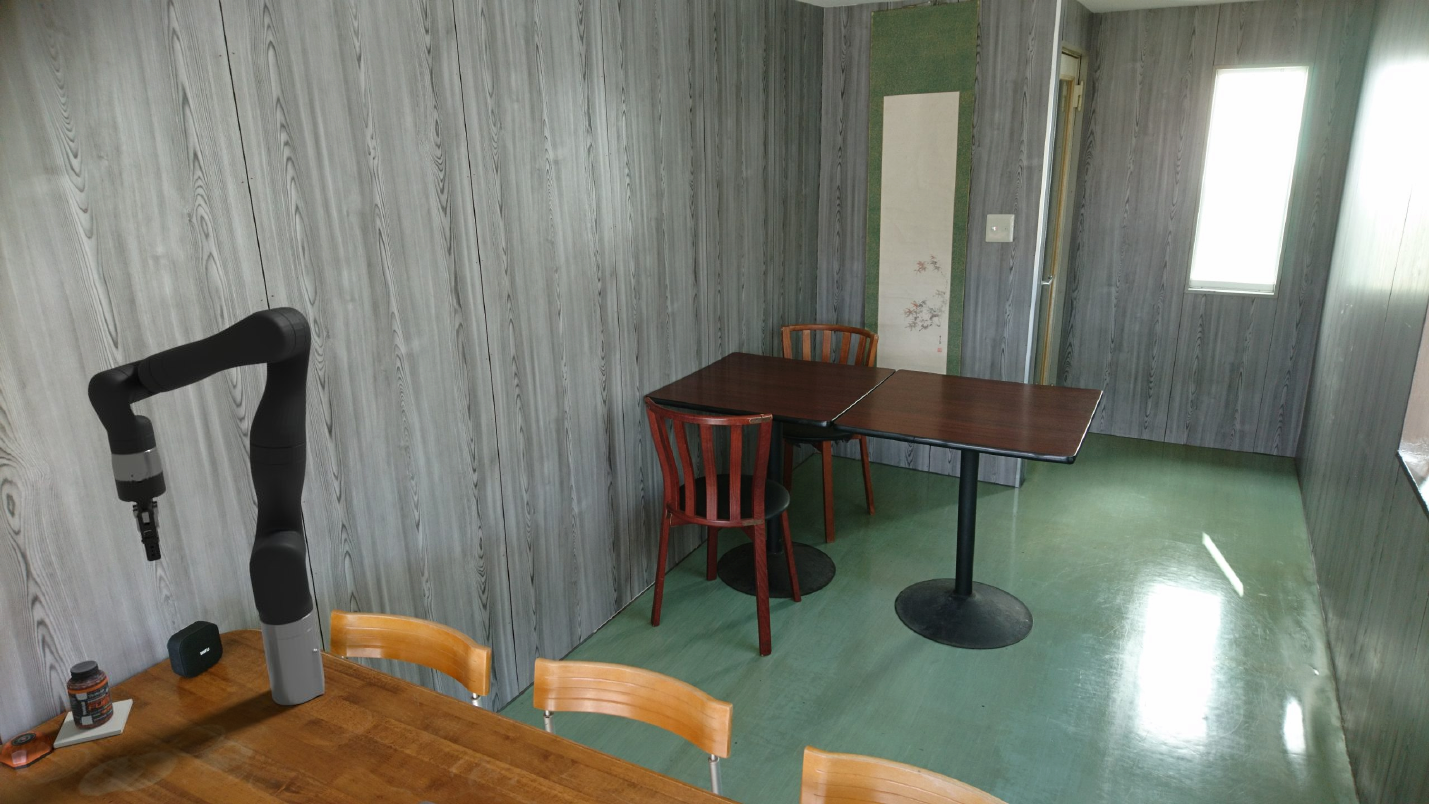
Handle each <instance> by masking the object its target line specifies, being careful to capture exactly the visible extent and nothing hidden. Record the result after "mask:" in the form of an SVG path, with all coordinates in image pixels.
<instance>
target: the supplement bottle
mask: <svg viewBox="0 0 1429 804" xmlns="http://www.w3.org/2000/svg"><path fill="white" fill-rule="evenodd" d="M69 672H70V678H69V679H68V680H67V682H66V690H67V696H68V699H69V705H70V710H71V711H72V715H73V719H74V723H75V726H76V727H78V728H82V729H85V728H86V729H87V728H93V727H96V726H99V725H101V724H103V723H105V722H107V721H108V720H109V719H110V718H111V717H112V716H113V714H114V711H113V704H112V703H114V702H113V701H112V696H111V690H110V686H109V681H108V677H107V673H106V672H105V671H104V670H103V669H100V668H99V664H98V662H97V661H96V660H92V659H91V660H90V659H89V660H84V661H79V662H78V663H75V664H74V665H73V666H71V668H70V671H69Z"/></svg>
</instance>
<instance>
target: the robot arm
mask: <svg viewBox="0 0 1429 804" xmlns="http://www.w3.org/2000/svg"><path fill="white" fill-rule="evenodd" d="M311 346H312V331H311V327H310V324H309V322H308V320H307V318H306V317H305V315H304V314H303V312H301V311H299V310H298V309H296V308H294V307H291V306H279V307H274V308H269V309H268V308H266V309H264V310H263V309H262V310H258V311H255V312H253V313H251V314H249V315H247V316H246V317H244V318H242V319H240V320H239V321H237V322H235V323H233V324H232V325H230V326H228V327H227V328H225V329H223V330H221V331H219V332H217V333H215V334H212V335H210V336H207V337H205V338H202V339H200V340H199V339H198V340H196V341H191V342H188V343H185V344H180V345H178V346H174V347H171V348H167V349H165V350H163V351H158V352H157V353H154V354H151V355H148V356H146V357H145V358H142V359H140V360H135V361H132V362H129V363H125V364H121V365H119V366H115V367H112V368H108V369H106V370H102V371H100V372H97V373H95V374H94V375H92V377H91V378H90V380H89V382H88V386H87V395H88V399H89V402H90V405H91V406H92V408H93V409H94V411H95V413H96V416H97V418H98V419H99V420H100V423H101V425H102V426H103V427H104V429H105V431H106V434H107V441H108V444H109V450H110V455H111V460H110V461H111V469H112V474H113V477H114V483H115V487H116V492H117V497H118V499H119V500H120V501H122V502H125V503H135V504H132V515H133V518H134V519H135V523H136V524H135V525H136V528H137V532H138V533H140V539H141V540H140V541H141V542H140V543H142V545H144V551H145V555H146V560H147V561H148V562H155V561H159V560H161V559H162V552H161V547H160V541H161V540H160V536H159V529H160V522H159V516H160V515H159V513H160V512H159V505H158V504H159V503H158V500H154V499H155V498H158V497H161V496H163V495H164V494H165V493H166V491H167V487H166V481H165V475H164V470H163V465H162V459H161V456H160V453H159V450H158V447H157V441H156V437H155V430H154V426H153V423H152V420H151V419H150V418H149V417H147V416H146V415H142V414H135V413H134V411H133V409H132V407H131V405H132V404H135V403H137V402H140V401H143V400H146V399H148V398H151V397H153V396H157V395H159V394H161V393H168V392H173V391H175V390H177V389H180V388H184V387H187V386H189V385H193V384H195V383H198V382H200V381H203V380H205V379H208V378H210V377H212V376H214V375H216V374H217V373H220V372H223V371H227V370H231V369H234V368H237V367H238V368H239V367H244V366H245V367H247V366H253V365H254V366H255V365H261V364H266V380H265V386H264V390H263V393H262V395H261V399H260V401H259V404H258V406H257V408H256V410H255V414H254V417H253V419H252V422H251V426H250V430H249V465H250V467H249V468H250V473H251V480H252V485H253V488H254V492H255V496H256V502H257V515H256V517H257V518H256V526H255V527H256V528H255V536H254V540H253V544H252V549H251V553H250V554H251V555H250V558H249V563H248V565H249V566H248V568H249V578H250V583H251V590H252V594H253V599H254V605H255V606H254V607H255V609H256V610H257V613H258V618H259V622H260V623H259V624H260V630H261V636H262V642H263V649H264V655H265V662H266V667H267V672H268V680H269V684H270V685H269V686H270V692H271V698H272V700H273V702H274V703H276V704H278V705H280V706H293V705H298V704H303V703H306V702H309V701H310V700H312V699H314V698H316V697H317V696H321V695H324V694H325V672H324V665H323V659H322V658H323V657H322V651H321V650H322V649H321V645H320V644H321V643H320V637H319V636H318V631H317V626H316V622H317V621H316V617H315V610H314V602H313V595H312V594H311V590H310V584H309V577H308V568H307V561H306V560H307V545H306V540H305V539H306V538H305V532H304V525H303V513H302V495H303V490H304V485H305V484H304V483H305V478H306V469H307V468H306V467H307V424H306V423H307V421H306V420H307V383H308V373H309V365H310V363H309V362H310V357H311V356H310V355H311Z"/></svg>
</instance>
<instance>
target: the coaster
mask: <svg viewBox="0 0 1429 804" xmlns="http://www.w3.org/2000/svg"><path fill="white" fill-rule="evenodd" d="M133 702H134V701H133V699H132V698H129V699H126V700H120V701H115V702H113V703H112V704H113V711H114V714H113V716H112V717H111V718H110V719H109V720H108V721H107V722H105V723H103V724H101V725H99V726H96V727H93V728H87V729H86V728H85V729H82V728H78V727H76V726H75V723H74V719H73V715H72V710H71V711H68V712H67V715H66V717H65V719H64V722H63V723H62V725H61V728H60V730H59V732H58V735H57V737H56V739H55V740H54V743H53V748H54V749H57V748H62V747H66V746H67V747H68V746H71V745H75V744H80V743H86V742H89V741H94V740H98V739H103V738H107V737H112V736H116V735H121V734H123V731H124V728H125V726H126V722H127V720H128V717H129V715H130V712H131V708H132V706H133Z"/></svg>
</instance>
